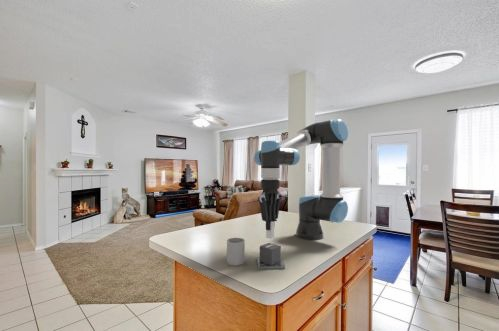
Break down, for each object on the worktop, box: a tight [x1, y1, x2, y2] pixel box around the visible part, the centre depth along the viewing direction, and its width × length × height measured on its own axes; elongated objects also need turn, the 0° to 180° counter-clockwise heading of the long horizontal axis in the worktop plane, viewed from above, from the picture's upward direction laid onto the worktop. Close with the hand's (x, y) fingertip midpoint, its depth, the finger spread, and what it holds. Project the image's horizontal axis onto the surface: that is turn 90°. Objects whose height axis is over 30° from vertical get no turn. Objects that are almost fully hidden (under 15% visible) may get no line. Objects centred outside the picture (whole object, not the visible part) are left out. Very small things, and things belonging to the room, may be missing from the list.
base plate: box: [256, 256, 286, 270], centre depth 91 cm, size 10×10×4 cm
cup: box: [226, 237, 246, 267], centre depth 93 cm, size 7×10×9 cm
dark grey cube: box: [259, 242, 282, 265], centre depth 91 cm, size 6×6×6 cm
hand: (270, 237), depth 91 cm, fingers closed
